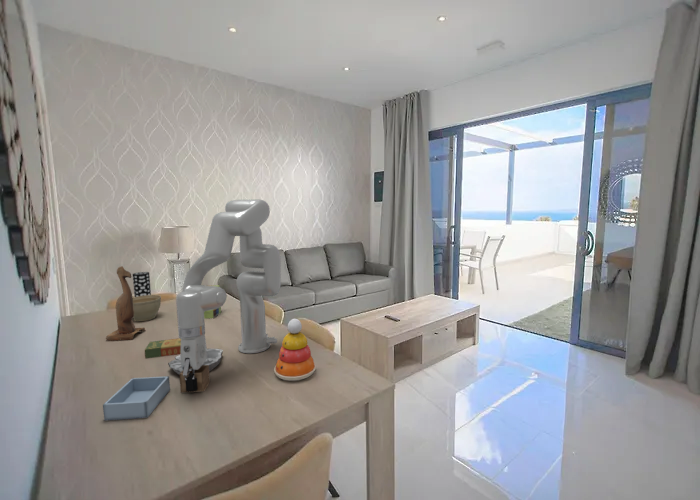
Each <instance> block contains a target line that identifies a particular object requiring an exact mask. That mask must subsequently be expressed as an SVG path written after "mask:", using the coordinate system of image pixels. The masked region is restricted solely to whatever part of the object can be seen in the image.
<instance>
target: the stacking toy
mask: <svg viewBox="0 0 700 500" xmlns="http://www.w3.org/2000/svg"><path fill="white" fill-rule="evenodd" d="M302 328H303V327H302V322H301V321H300V320H299V319H298V318H292V319H290V320H289V322H288V324H287V331H288V333H287V334H286V335H285V336H284V337H283V339H282V342H281V347H280V350H279V352H278V359H277V360H276V364H275V366H274V368H273V372H274V374H275V376H277V378H279V379H280V380H281V379H282V380H283V381H290V382H291V381H293V382H294V381H300V380H304V379H307V378H309V377H311V376H312V375H313V374H314V373H315V371H316V369H317V365H316V363H315V362H314V359H313V356H312V352H311V351H312V350H311V348H310V345H308V343H309V342H308V339H307V337H306V336H305V334H304V333H302V332H301V331H302Z"/></svg>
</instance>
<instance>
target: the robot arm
mask: <svg viewBox="0 0 700 500" xmlns="http://www.w3.org/2000/svg"><path fill="white" fill-rule="evenodd" d="M224 208H225V209H224V210H225V211H222V212H217V213H216V214H215V215H213V217H212V220H211V223H210V224H211V225H210V228H209V230H208V231H209V232H208V235H207V240H206V244H205V247H204V252H203V254H202V255H201V256H199V258H198V259H196V261H195V262H193V264H192V265H191V267H190V268H189V269H188V271H187V272H186V275H185V277H184V280H183V284H182V285H183V286H182V289H181V292H179V293H178V294H177V295H176V297H175V300H176V301H175V302H176V314H177V315H176V316H177V329H178V333H177V334H178V338H180V339H181V354H180V355H181V367H182V370H183V376H184V377H185V380H186V391H197V389H198V388H197V378H195V377H196V370H198V369H199V368H200V367H201V366H202V365H203V363H204V362H205V360H206V359H207V349H208V348H207V342H206V341H207V340H206V339H207V338H206V327H205V326H206V325H205V322H206V321H205V319H204V312H205V311H208V310H214V309H217V308H220V307H221V308H222V306H223V305H225V303H226V301H227V293H226V291H225V289H224V288H222V287H217V286H206V285H207V284H206V285H205V284H202V282H203V280H204V278H205V276H206V275H207V273H208V272H210V271H211V270H213V268H216V267H217V266H219V265H221V264H224V263H225V262H228V261H229V260H230V259H231V256H232V252H233V246H234V241H235V238H236V237H239V260H240V263H241V265H242V266H243V267H245V268H251V269H263V270H264V271H260V270H259V271H255V270H247V271H243V272H241V273H240V274H239V275H237V278H236V282H235V284H236V289H237V293H238V298H239V307H240V326H241V327H240V329H241V343H239V344H238V347H237V348H238V351H239V352H241V353H244V354H257V353H261V352H264V351H265V352H266V350H268V349H270V348H271V344H277V343H278V338H277V337H275V336H271V337H270V336H268V333H267V330H266V327H267V326H266V324H267V323H266V306H265V302H264V298H263V297H275V296H277V295H278V294H279V292H280V290H281V283H282V282H281V281H282V276H281V275H282V273H281V271H282V268H281V266H282V265H281V264H282V263H281V262H282V261H281V253H280V250H279V248H278V247H277V246H276V245H274V244H267V243H266V244H263V234H262V229H261V226H262V225H264V224H265V222H266V221H268V219H269V217H270V213H271V209H270V206H269V204H268V202H267V201H266V200H263V199H233V200H230V201H228V202H227V203H226V204H225V207H224ZM190 367H192V368H193V369H190ZM189 371H193V375H192V373H190V372H189Z"/></svg>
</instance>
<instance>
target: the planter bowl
mask: <svg viewBox="0 0 700 500" xmlns="http://www.w3.org/2000/svg"><path fill="white" fill-rule="evenodd" d="M132 297H133V306H134V317H133V318H132V319H133V321H135V322H146V321H150V320H153V319H155V318H156V316H157V313H158V312H159V310H160V308H161V302H162V301H161V300H162V296H161V295H159V294H151V295H144V296H138V297H134V296H132Z"/></svg>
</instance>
